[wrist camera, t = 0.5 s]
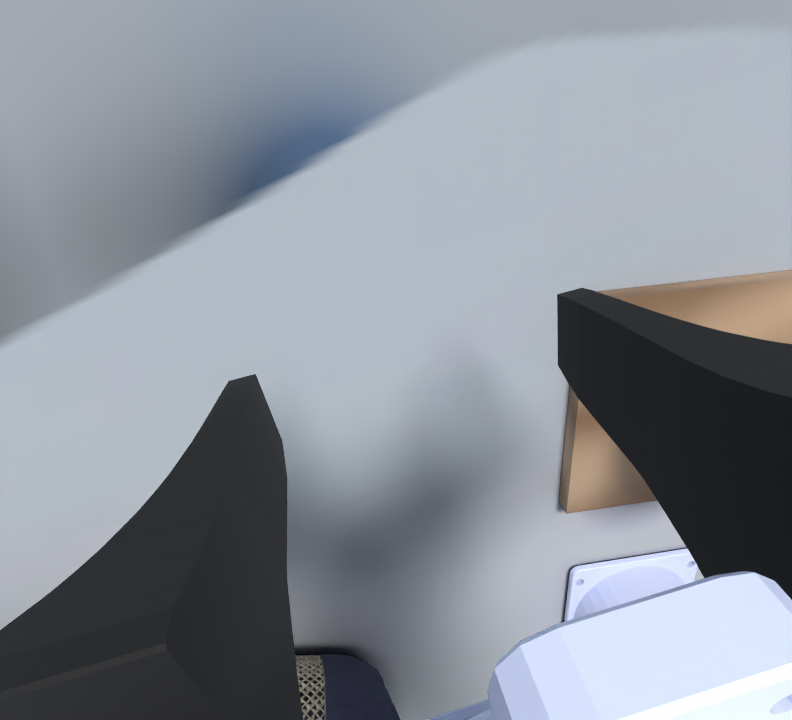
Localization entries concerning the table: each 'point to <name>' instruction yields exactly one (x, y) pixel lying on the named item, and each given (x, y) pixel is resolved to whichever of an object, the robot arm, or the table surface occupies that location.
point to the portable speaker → (342, 689)
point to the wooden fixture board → (689, 301)
